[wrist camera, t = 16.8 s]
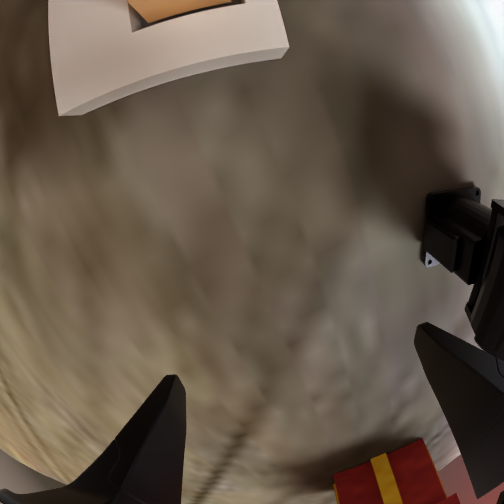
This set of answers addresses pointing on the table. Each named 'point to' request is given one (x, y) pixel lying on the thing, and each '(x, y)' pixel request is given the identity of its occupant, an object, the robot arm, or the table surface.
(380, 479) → the gift box
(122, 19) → the socket plate
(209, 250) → the table surface
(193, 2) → the plug
